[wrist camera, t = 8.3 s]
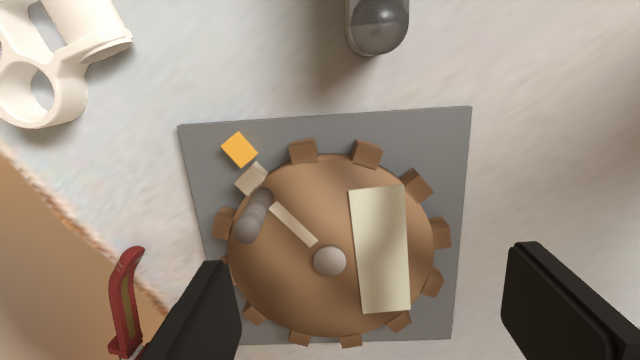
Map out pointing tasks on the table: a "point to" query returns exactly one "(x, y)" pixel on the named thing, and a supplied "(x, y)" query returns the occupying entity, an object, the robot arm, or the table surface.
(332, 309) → the sprocket wheel
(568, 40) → the table surface
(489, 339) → the table surface
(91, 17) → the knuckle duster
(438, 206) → the index base plate
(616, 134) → the table surface
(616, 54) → the table surface
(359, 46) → the chain link
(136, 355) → the pliers
